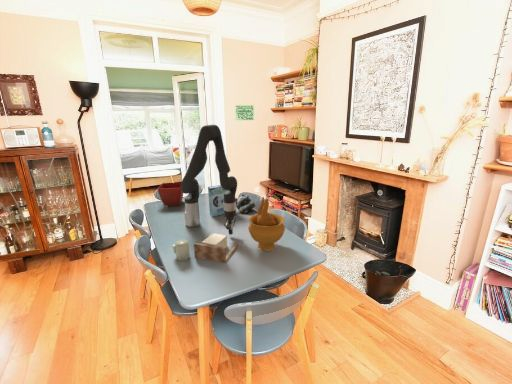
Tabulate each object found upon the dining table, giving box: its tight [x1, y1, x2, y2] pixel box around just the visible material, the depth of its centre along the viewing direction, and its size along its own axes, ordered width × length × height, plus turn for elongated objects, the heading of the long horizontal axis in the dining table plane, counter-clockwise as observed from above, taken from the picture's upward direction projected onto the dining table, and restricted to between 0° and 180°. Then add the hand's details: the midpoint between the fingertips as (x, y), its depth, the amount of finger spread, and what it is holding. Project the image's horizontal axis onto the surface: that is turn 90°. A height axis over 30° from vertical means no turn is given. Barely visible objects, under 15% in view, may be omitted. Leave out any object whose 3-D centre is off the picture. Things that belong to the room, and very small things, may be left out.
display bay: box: [193, 242, 239, 263], centre depth 146 cm, size 18×19×8 cm
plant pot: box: [157, 181, 184, 207], centre depth 224 cm, size 19×19×17 cm
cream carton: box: [201, 232, 228, 249], centre depth 148 cm, size 9×12×7 cm
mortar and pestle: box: [248, 196, 286, 251], centre depth 148 cm, size 21×21×30 cm
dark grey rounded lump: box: [235, 194, 256, 214], centre depth 207 cm, size 15×12×14 cm
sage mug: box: [172, 239, 191, 262], centre depth 140 cm, size 8×7×9 cm
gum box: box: [207, 184, 227, 218], centre depth 200 cm, size 20×5×23 cm, turn 123°
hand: (230, 234), depth 164 cm, fingers closed
